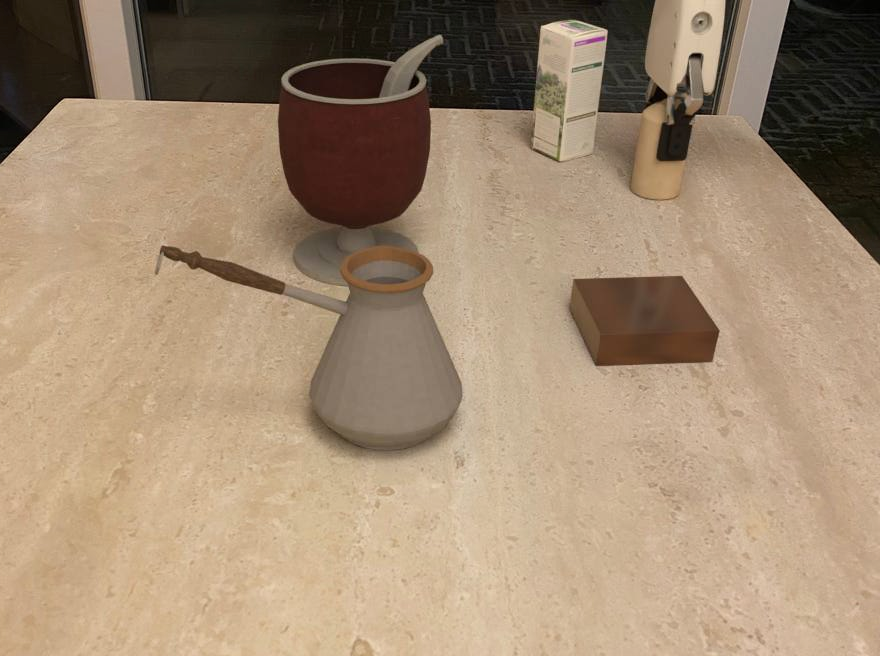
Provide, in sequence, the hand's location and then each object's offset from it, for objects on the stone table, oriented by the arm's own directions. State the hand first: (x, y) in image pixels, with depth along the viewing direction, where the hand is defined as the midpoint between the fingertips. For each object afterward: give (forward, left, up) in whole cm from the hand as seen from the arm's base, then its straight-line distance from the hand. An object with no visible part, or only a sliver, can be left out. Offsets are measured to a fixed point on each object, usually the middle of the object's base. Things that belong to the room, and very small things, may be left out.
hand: (662, 148), depth 111 cm
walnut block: (+11, +32, -5) cm, 34 cm away
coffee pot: (+39, +44, -5) cm, 59 cm away
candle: (0, 0, -5) cm, 5 cm away
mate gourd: (+34, +15, -5) cm, 38 cm away
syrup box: (+8, -13, -5) cm, 16 cm away
